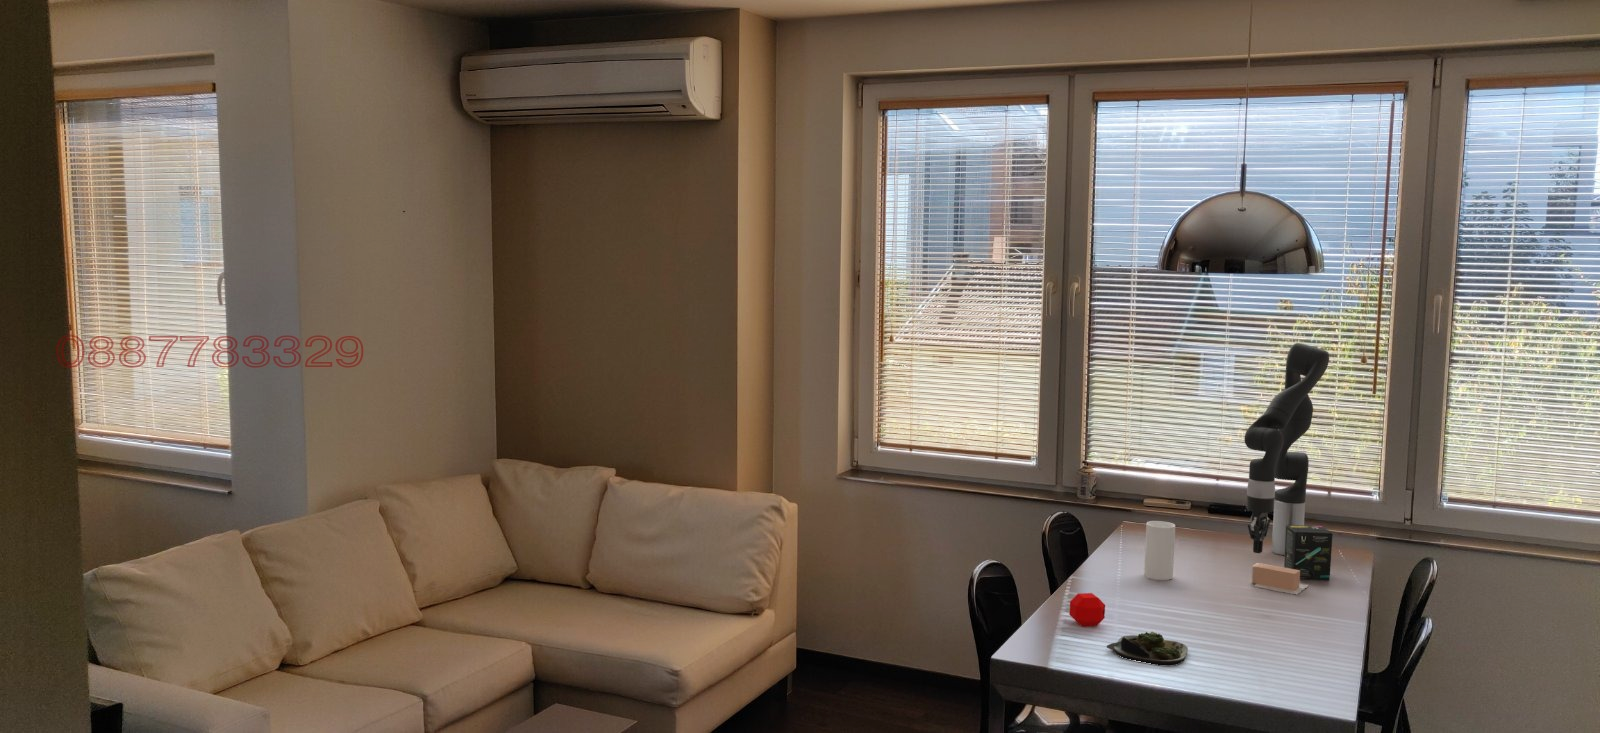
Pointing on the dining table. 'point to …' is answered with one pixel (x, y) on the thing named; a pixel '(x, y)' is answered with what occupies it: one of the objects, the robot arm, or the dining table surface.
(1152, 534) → the cup
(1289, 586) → the block
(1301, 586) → the mat
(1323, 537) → the tampon box
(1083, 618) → the ball
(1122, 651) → the salad plate
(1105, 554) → the dining table surface
